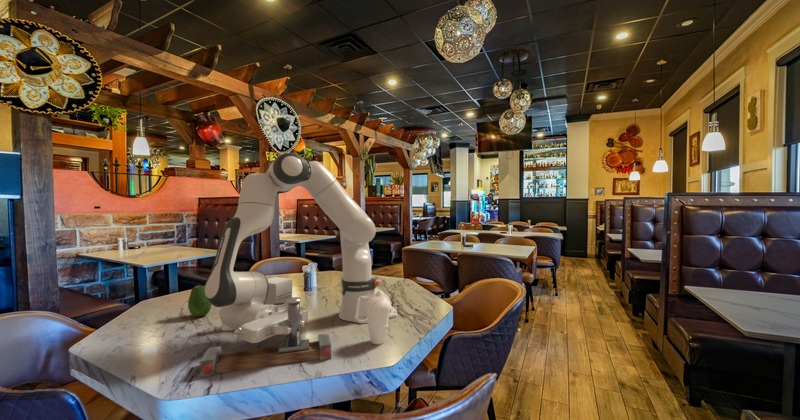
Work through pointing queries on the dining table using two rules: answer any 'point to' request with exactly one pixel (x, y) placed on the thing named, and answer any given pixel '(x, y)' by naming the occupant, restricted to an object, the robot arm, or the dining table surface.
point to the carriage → (294, 329)
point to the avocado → (198, 302)
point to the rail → (261, 357)
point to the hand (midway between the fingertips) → (296, 327)
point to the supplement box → (279, 290)
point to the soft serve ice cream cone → (378, 317)
